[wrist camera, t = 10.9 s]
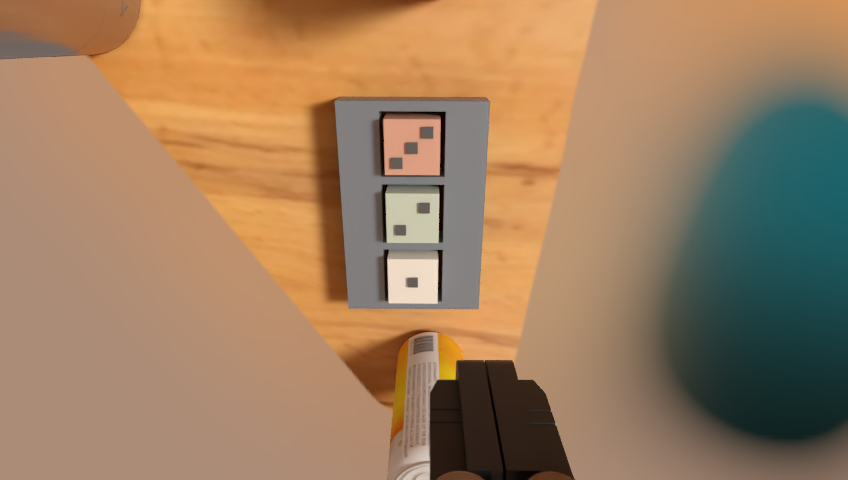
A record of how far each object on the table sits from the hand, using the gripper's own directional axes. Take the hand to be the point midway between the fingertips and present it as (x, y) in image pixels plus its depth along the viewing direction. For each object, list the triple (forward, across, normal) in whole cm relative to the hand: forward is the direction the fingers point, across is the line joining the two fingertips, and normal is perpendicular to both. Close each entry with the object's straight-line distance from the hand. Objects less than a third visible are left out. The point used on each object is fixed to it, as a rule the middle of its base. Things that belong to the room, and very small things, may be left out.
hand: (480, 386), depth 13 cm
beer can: (+27, +1, +19) cm, 33 cm away
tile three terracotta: (+26, +2, -1) cm, 26 cm away
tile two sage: (+26, +3, +4) cm, 27 cm away
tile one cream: (+26, +3, +9) cm, 28 cm away
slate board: (+27, +2, +4) cm, 27 cm away
